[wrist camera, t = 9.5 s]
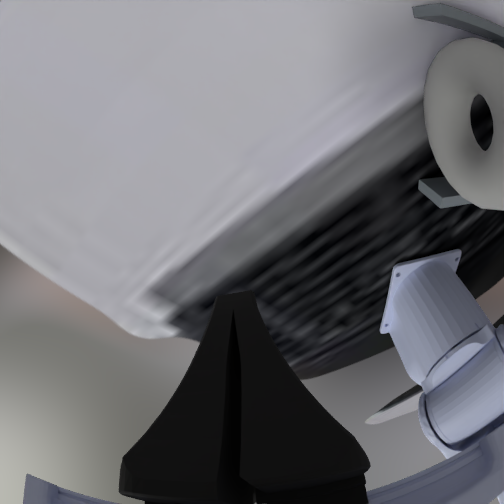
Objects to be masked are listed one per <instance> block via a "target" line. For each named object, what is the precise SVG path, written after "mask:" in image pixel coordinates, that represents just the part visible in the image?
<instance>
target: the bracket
mask: <svg viewBox="0 0 504 504" xmlns="http://www.w3.org/2000/svg"><path fill="white" fill-rule="evenodd" d="M413 13H414V18H419V19H424V20H428V21H433V22H437V23H441V24H445V25H448V26H452V27H456V28H459V29H462V30H465V31H469V32H472V33H475V34H478V35H480V36H483V37H486V38H489V39H491V40H493V43H494V44H497V45H499V46H500V47H502V48H503V49H504V27H501V26H499V25H497V24H495V23H493V22H490V21H488V20H486V19H483V18H481V17H478V16H476V15H473V14H471V13H468V12H465V11H462V10H460V9H457V8H454V7H451V6H447V5H444V4H441V3H438V4H430V5H423V6H416V7H413ZM418 189H419V190H420V191H421V192H422V193H423V194H425V195H426V196H427V197H428V198H429V199H430V200H432V201H433V202H434V203H435V204H436V205H437V206H438V207H439V208H445V207H452V206H458V205H464V204H470V203H471V202H470V201H468V200H466V199H464V198H463V197H461V196H460V194H459V193H458V192H457V191H456V190H455V189H454V188H453V187H452V186H451V185H450V184H449V182H448V181H447V179H446V177H438V178H429V179H419V187H418Z"/></svg>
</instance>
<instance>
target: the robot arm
mask: <svg viewBox="0 0 504 504" xmlns="http://www.w3.org/2000/svg"><path fill="white" fill-rule="evenodd" d="M461 253H462V252H461V250H460V249H455V250H451V251H447V252H443V253H439V254H435V255H431V256H427V257H423V258H419V259H415V260H411V261H407V262H402V263H398V264H396V265H395V266H394V267H393V271H392V277H391V282H390V287H389V292H388V297H387V301H386V306H385V310H384V314H383V319H382V323H381V327H380V332H381V333H382V334H384V333H388V332H389V333H390V335H391V337H392V339H393V342H394V344H395V346H396V348H397V350H398V353H399V355H400V357H401V359H402V362H403V364H404V366H405V369H406V371H407V373H408V375H409V376H410V378H411V379H412V380H413V381H415V382H416V383H417V384H419V385H421V386H422V388H423V390H424V392H423V393H422V395H421V396H420V399H419V405H418V407H419V408H418V416H419V422H420V425H421V428H422V430H423V432H424V434H425V436H426V437H427V439H428V440H429V441H430V442H431V443H432V444H433V445H435V446H436V447H437V448H438V449H439V450H440V451H441V452H442V453H443V454H444V456H445V458H446V459H447V460H445V461H443V462H441V463H438V464H436V465H434V466H432V467H430V468H428V469H426V470H423V471H421V472H419V473H417V474H414V475H412V476H409V477H407V478H404V479H402V480H399V481H397V482H394V483H391V484H389V485H386V486H383V487H380V488H377V489H374V490H370V491H367V492H366V488H365V484H366V480H365V476H364V473H365V472H366V471H368V469H369V468H370V462H369V459H368V457H367V455H366V453H365V452H364V450H363V449H362V447H361V446H360V444H359V443H358V442H357V440H356V439H355V437H354V436H353V435H352V434H351V433H350V432H349V431H347V430H346V429H345V428H344V427H343V426H342V425H341V424H340V423H339V422H338V421H337V420H335V419H334V418H333V417H332V416H331V415H330V414H329V413H328V412H327V410H325V409H324V407H323V406H322V405H321V404H320V403H319V402H318V401H317V400H316V399H315V397H314V396H313V395H312V394H311V393H310V392H309V391H308V390H307V388H306V387H305V386H304V385H303V383H302V382H301V381H300V379H299V378H298V377H297V376H296V374H295V373H294V372H293V370H292V369H291V367H290V366H289V365H288V363H287V362H286V360H285V359H284V357H283V356H282V354H281V353H280V351H279V349H278V348H277V346H276V344H275V343H274V341H273V339H272V337H271V335H270V334H269V332H268V330H267V328H266V326H265V324H264V322H263V320H262V317H261V315H260V312H259V310H258V307H257V303H256V298H255V294H254V292H253V291H251V290H250V291H244V292H238V293H232V294H226V295H220V296H217V298H216V299H215V303H214V306H213V310H212V313H211V316H210V319H209V322H208V324H207V327H206V330H205V332H204V335H203V337H202V340H201V342H200V345H199V347H198V349H197V351H196V354H195V356H194V358H193V360H192V362H191V364H190V366H189V368H188V370H187V372H186V374H185V376H184V378H183V379H182V381H181V383H180V385H179V386H178V388H177V390H176V391H175V393H174V394H173V396H172V398H171V399H170V401H169V402H168V404H167V405H166V407H165V408H164V409H163V411H162V412H161V414H160V415H159V416H158V418H157V419H156V420H155V421H154V423H153V424H152V425H151V426H150V428H149V429H148V430H147V432H146V433H145V434H144V435H143V436H142V437H141V438H140V439H139V440H138V442H137V443H136V444H135V445H134V446H133V447H132V448H131V449H130V450H129V451H128V452H127V453H126V454H125V455H124V456H123V460H122V464H121V469H120V479H119V493H120V494H122V495H124V496H127V497H131V498H135V499H139V500H143V501H145V504H254V503H255V502H256V503H257V504H489V503H490V502H491V501H492V500H494V499H495V498H496V497H497V498H498V501H499V503H500V504H504V325H499V327H498V328H497V329H496V328H494V327H493V325H492V323H491V322H490V320H489V319H488V317H487V316H486V314H485V313H484V312H483V310H482V309H481V307H480V306H479V304H478V303H477V301H476V300H475V299H474V297H473V296H472V294H471V293H470V292H469V290H468V289H467V288H466V286H465V285H464V284H463V282H462V281H461V280H460V278H459V277H458V276H457V275H456V270H457V267H458V264H459V260H460V257H461ZM397 273H398V274H397ZM23 504H119V503H114V502H109V501H105V500H101V499H97V498H93V497H89V496H85V495H83V494H79V493H76V492H73V491H70V490H66V489H64V488H61V487H58V486H57V485H54V484H52V483H49V482H46V481H44V480H42V479H39V478H37V477H34V476H32V475H30V474H27V475H26V482H25V489H24V499H23Z"/></svg>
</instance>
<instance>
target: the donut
mask: <svg viewBox="0 0 504 504" xmlns="http://www.w3.org/2000/svg"><path fill="white" fill-rule="evenodd" d="M478 94H480V95H482V96H483V97H484V99H485V100H486V102H487V104H488V106H489V108H490V111H491V114H492V118H493V128H494V133H493V138H492V143H491V145H490V147H489V149H488V150H487V151H483V150H482V149H481V147H480V146H479V145H478V143H477V142H476V139H475V137H474V135H473V131H472V127H471V121H470V110H471V104H472V102H473V99H474V97H475V96H476V95H478ZM423 107H424V117H425V126H426V130H427V134H428V139H429V143H430V146H431V149H432V151H433V154H434V156H435V159H436V162H437V164H438V165H439V167H440V169H441V170H442V172H443V174H444V176H445V177H446V179H447V181H448V182H449V184H450V185H451V186H452V187H453V188H454V189H455V190H456V191H457V192H458V193H459V194H460V196H461V197H463V198H464V199H466V200H468V201H470V202H471V203H473V204H475V205H476V206H478V207H480V208H482V209H494V210H504V49H503V48H502V47H500V46H499V45H497V44H494V43H491V42H488V41H485V40H482V39H479V38H466V39H460V40H455V41H453V42H451V43H449V44H448V45H447V46H445V47H444V48H443V49H442V50H440V51H439V52H438V53H437V55H436V57H435V59H434V60H433V62H432V64H431V66H430V68H429V70H428V74H427V78H426V82H425V86H424V102H423Z"/></svg>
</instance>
